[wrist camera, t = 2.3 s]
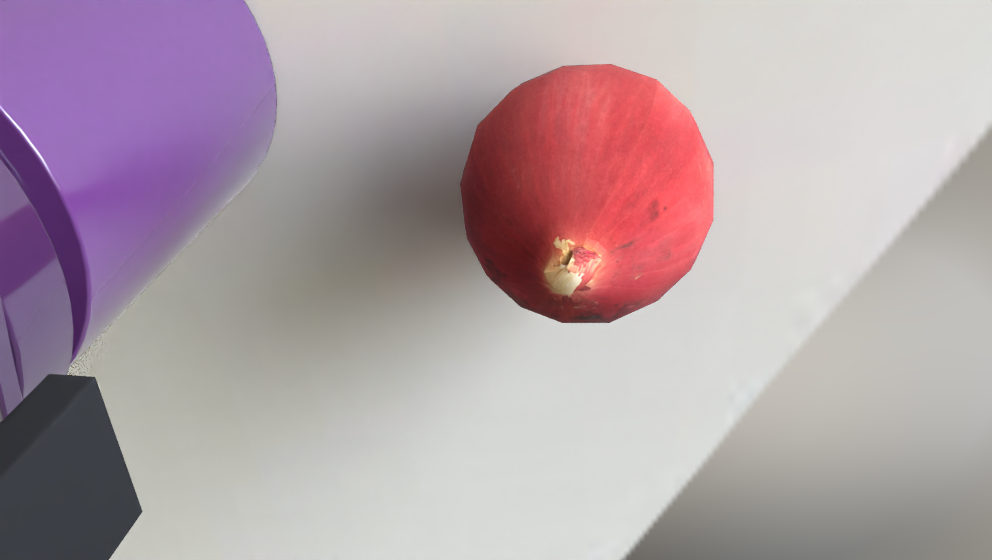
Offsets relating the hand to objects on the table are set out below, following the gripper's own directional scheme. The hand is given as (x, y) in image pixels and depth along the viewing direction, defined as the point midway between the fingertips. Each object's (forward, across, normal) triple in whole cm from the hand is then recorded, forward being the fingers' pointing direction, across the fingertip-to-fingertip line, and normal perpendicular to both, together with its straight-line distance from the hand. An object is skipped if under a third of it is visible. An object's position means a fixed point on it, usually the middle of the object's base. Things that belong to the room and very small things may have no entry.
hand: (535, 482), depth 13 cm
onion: (+14, 0, 0) cm, 14 cm away
